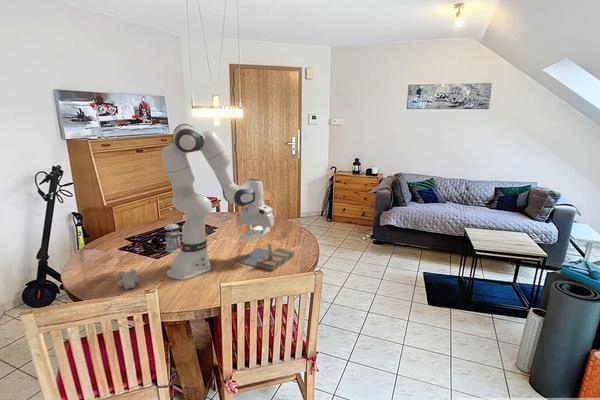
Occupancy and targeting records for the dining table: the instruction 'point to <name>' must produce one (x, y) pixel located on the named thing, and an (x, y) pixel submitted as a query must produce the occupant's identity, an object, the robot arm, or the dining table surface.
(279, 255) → the stand
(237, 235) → the dining table surface
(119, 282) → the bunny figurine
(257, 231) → the link
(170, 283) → the dining table surface
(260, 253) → the mat
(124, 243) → the dining table surface
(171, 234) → the french press
